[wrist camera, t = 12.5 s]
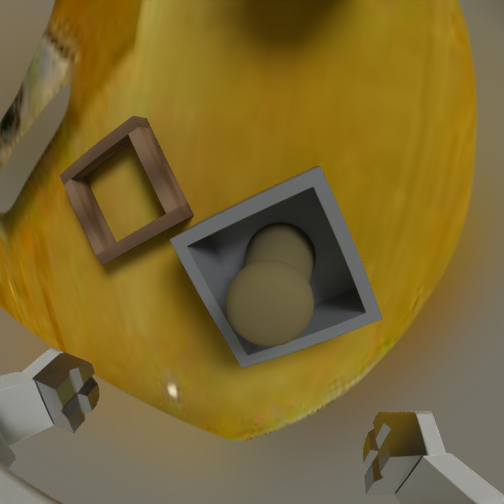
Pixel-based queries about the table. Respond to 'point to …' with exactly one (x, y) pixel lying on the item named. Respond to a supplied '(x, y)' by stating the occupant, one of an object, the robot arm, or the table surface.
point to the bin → (323, 277)
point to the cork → (273, 286)
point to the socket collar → (157, 173)
